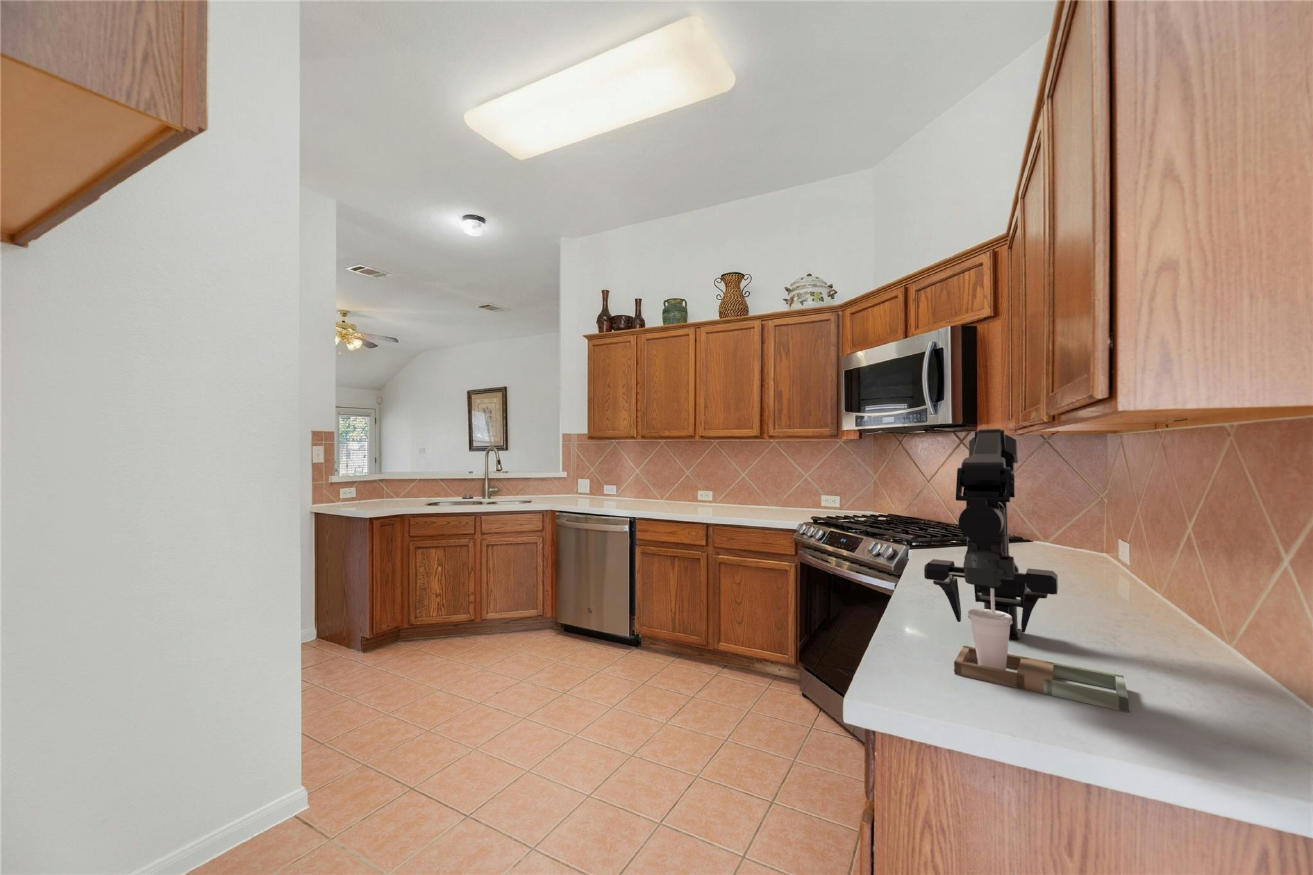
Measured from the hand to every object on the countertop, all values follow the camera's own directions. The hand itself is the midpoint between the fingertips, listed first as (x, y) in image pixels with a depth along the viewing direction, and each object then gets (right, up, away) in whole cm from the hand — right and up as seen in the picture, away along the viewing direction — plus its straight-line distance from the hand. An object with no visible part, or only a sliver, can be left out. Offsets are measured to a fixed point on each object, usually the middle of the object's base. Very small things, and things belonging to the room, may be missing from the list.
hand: (990, 626), depth 87 cm
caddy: (+5, -7, -4) cm, 10 cm away
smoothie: (0, -8, 0) cm, 8 cm away
